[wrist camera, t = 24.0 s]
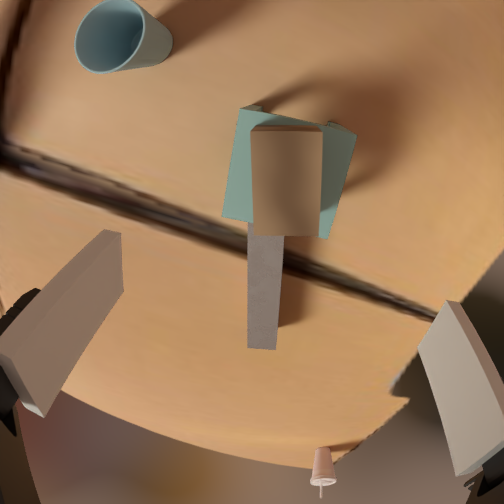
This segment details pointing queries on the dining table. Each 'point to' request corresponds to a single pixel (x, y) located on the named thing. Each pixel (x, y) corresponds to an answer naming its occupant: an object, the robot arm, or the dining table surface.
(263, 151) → the walnut block
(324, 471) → the smoothie
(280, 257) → the grey bar
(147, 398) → the dining table surface
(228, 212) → the bridge
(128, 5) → the cup
